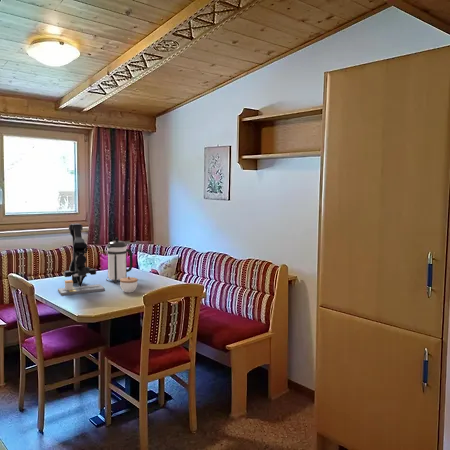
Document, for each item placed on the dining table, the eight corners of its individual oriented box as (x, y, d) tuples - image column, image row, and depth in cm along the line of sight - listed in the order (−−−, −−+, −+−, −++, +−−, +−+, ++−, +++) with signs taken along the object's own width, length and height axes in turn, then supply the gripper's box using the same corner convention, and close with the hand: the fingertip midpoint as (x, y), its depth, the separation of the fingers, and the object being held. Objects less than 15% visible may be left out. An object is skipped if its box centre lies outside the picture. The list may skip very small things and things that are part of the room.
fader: (64, 288, 282) (64, 280, 281) (71, 288, 284) (71, 279, 283) (66, 290, 278) (65, 281, 277) (73, 289, 280) (73, 281, 280)
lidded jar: (141, 290, 287) (141, 276, 286) (129, 294, 278) (129, 279, 277) (128, 288, 293) (128, 274, 292) (116, 291, 284) (116, 277, 283)
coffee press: (127, 283, 306) (126, 239, 303) (103, 282, 306) (102, 238, 303) (132, 277, 323) (132, 235, 320) (110, 277, 323) (110, 235, 320)
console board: (57, 290, 283) (57, 288, 283) (99, 286, 296) (99, 283, 296) (61, 295, 273) (61, 292, 273) (104, 290, 286) (104, 288, 286)
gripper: (66, 265, 271) (67, 290, 273) (98, 262, 280) (98, 287, 282) (63, 261, 281) (63, 286, 282) (93, 259, 290) (94, 283, 291)
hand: (80, 286), depth 284 cm, fingers closed
